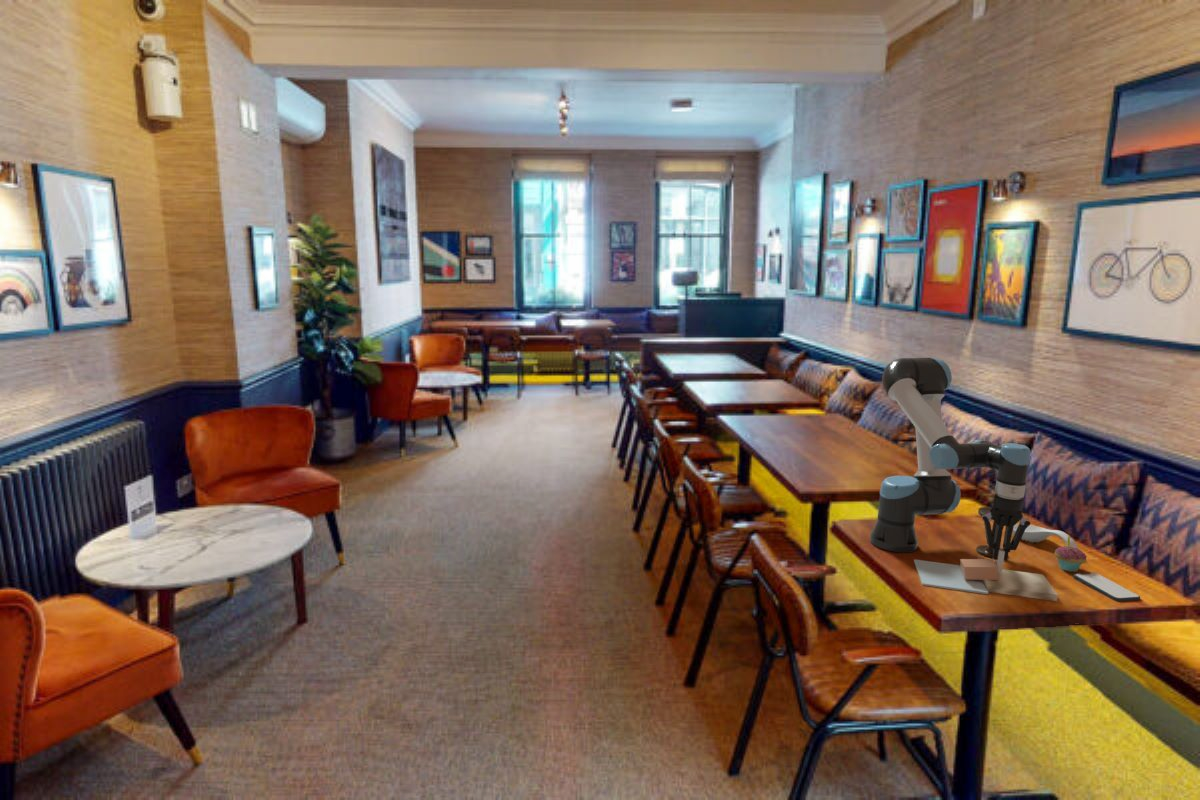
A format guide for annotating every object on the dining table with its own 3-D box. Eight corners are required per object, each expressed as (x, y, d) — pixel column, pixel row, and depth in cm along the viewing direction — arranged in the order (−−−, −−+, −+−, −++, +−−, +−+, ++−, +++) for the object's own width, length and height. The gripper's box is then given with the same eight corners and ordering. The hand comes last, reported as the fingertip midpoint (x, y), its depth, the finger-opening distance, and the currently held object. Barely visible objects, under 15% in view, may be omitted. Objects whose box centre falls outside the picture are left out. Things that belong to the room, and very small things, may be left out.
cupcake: (1069, 575, 214) (1075, 539, 212) (1045, 564, 222) (1051, 529, 220) (1090, 572, 217) (1097, 537, 214) (1066, 561, 225) (1072, 527, 222)
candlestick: (1000, 547, 235) (1014, 449, 228) (1016, 560, 224) (1031, 458, 218) (967, 545, 236) (980, 447, 229) (981, 558, 225) (995, 456, 219)
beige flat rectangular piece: (987, 591, 203) (988, 585, 202) (976, 571, 216) (977, 565, 215) (1056, 601, 197) (1057, 594, 197) (1041, 580, 211) (1042, 574, 210)
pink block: (964, 579, 207) (964, 567, 207) (960, 571, 213) (960, 559, 212) (998, 579, 205) (997, 567, 204) (993, 571, 210) (992, 559, 210)
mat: (922, 585, 206) (922, 583, 206) (913, 561, 223) (914, 559, 223) (988, 594, 201) (988, 592, 201) (974, 569, 218) (974, 567, 217)
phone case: (1142, 602, 199) (1095, 576, 215) (1143, 597, 199) (1096, 572, 215) (1115, 604, 198) (1070, 578, 213) (1116, 598, 198) (1071, 573, 213)
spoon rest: (1001, 534, 248) (1003, 515, 246) (1026, 531, 251) (1029, 513, 250) (1061, 561, 225) (1064, 541, 224) (1087, 558, 229) (1091, 537, 227)
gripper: (987, 497, 201) (977, 571, 206) (1037, 502, 197) (1025, 578, 202) (981, 489, 208) (971, 561, 213) (1029, 494, 204) (1018, 567, 209)
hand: (997, 569), depth 207 cm, fingers closed
